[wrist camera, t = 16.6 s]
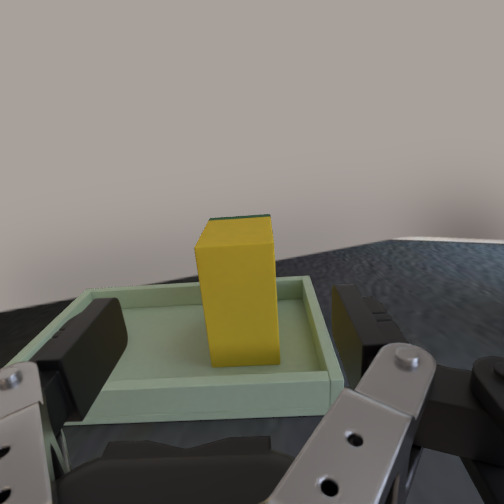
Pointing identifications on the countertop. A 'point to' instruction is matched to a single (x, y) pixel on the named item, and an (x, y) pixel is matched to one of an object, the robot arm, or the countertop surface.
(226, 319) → the sponge
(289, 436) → the countertop surface
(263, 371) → the tray
